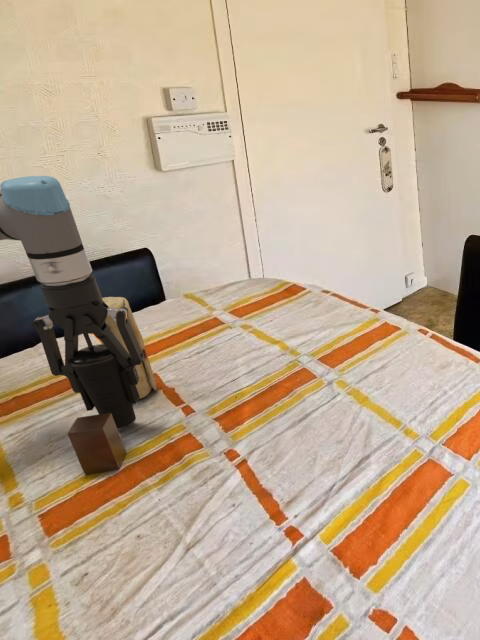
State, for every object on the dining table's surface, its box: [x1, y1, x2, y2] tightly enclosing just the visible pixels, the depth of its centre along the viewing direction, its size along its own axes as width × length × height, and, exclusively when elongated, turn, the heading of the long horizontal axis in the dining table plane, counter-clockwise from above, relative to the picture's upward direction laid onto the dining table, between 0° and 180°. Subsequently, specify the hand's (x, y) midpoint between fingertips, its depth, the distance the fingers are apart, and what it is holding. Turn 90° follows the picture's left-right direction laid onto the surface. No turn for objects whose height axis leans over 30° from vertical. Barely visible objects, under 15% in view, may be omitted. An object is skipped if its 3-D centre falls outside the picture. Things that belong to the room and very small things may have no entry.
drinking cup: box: [68, 333, 137, 429], centre depth 107 cm, size 8×8×20 cm
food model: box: [99, 296, 158, 400], centre depth 120 cm, size 10×7×20 cm
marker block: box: [66, 413, 127, 476], centre depth 101 cm, size 5×5×8 cm
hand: (113, 403), depth 110 cm, fingers closed on drinking cup, 6 cm apart
